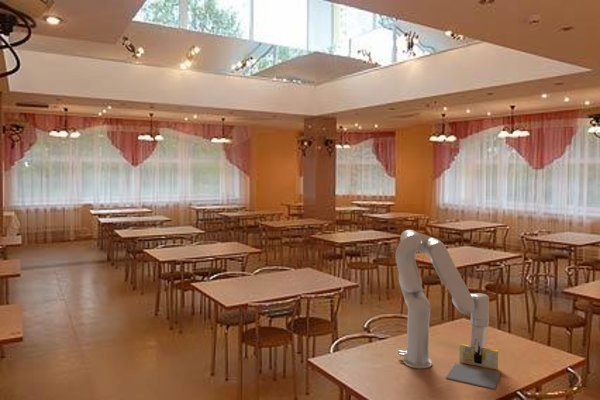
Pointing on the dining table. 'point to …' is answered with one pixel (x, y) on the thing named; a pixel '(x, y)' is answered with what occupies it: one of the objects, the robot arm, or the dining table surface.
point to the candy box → (487, 356)
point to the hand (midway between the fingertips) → (478, 361)
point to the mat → (474, 376)
